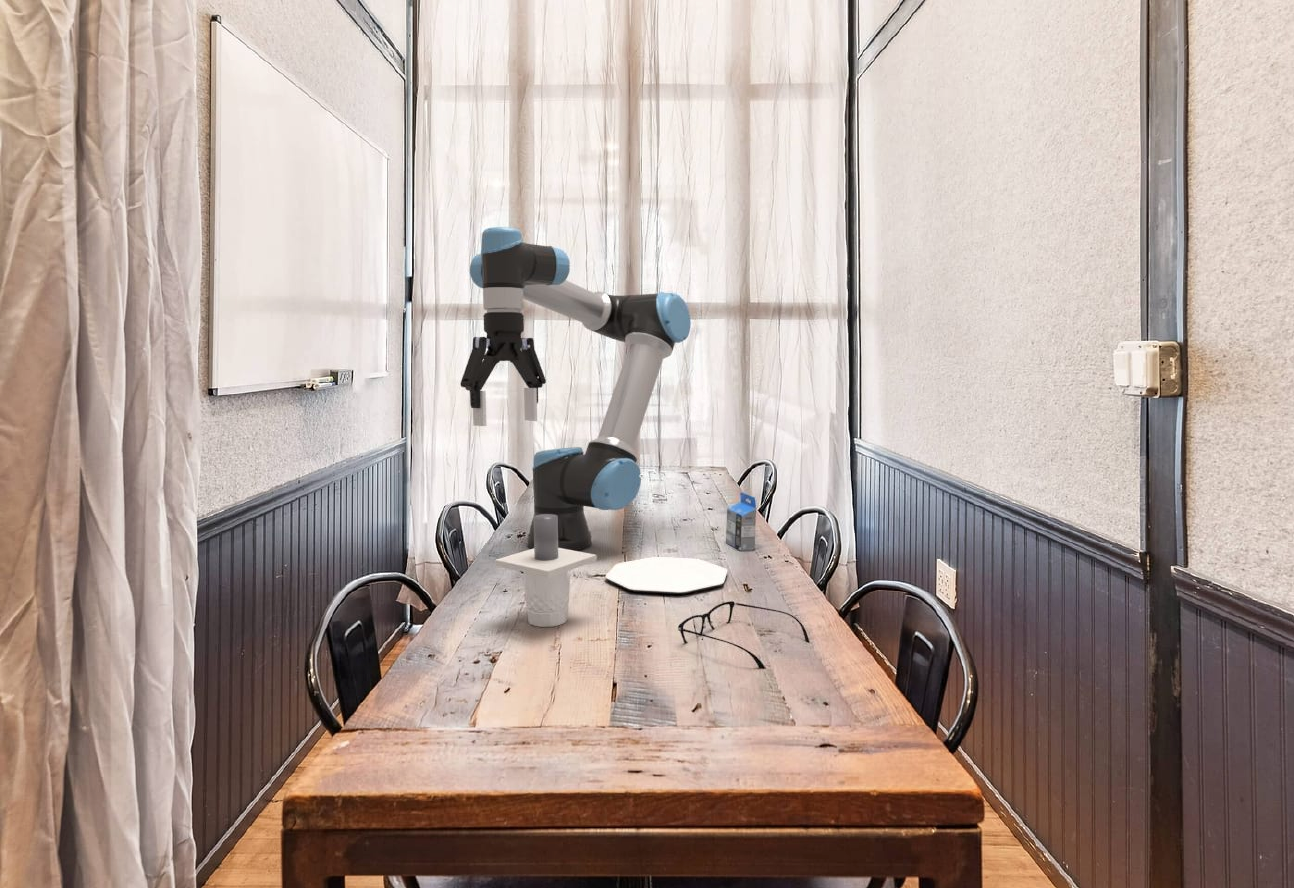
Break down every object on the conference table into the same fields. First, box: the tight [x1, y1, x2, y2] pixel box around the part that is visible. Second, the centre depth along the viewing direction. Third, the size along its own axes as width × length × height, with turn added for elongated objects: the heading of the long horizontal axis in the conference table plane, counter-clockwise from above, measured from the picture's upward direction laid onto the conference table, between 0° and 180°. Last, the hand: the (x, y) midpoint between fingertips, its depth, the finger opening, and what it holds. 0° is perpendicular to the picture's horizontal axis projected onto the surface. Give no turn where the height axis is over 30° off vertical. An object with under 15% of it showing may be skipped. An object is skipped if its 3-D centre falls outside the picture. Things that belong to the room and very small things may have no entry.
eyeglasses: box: [677, 600, 810, 670], centre depth 119 cm, size 16×16×4 cm
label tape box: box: [725, 491, 757, 552], centre depth 178 cm, size 9×4×12 cm, turn 17°
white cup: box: [523, 570, 571, 628], centre depth 129 cm, size 8×8×10 cm
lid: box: [494, 514, 598, 578], centre depth 128 cm, size 12×12×8 cm
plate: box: [604, 556, 729, 595], centre depth 153 cm, size 24×24×2 cm
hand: (506, 423), depth 147 cm, fingers open, 13 cm apart
